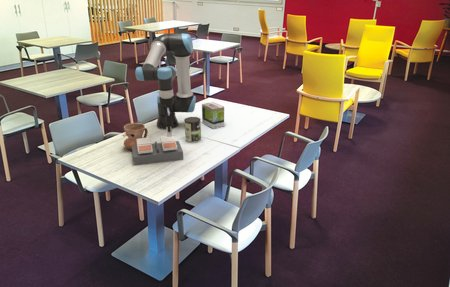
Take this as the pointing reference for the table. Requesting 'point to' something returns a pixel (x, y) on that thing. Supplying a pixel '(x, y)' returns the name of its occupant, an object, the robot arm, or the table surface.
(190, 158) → the table surface
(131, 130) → the ceramic jug
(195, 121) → the coffee can
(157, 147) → the breaker panel
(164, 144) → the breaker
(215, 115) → the tea box
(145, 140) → the breaker
